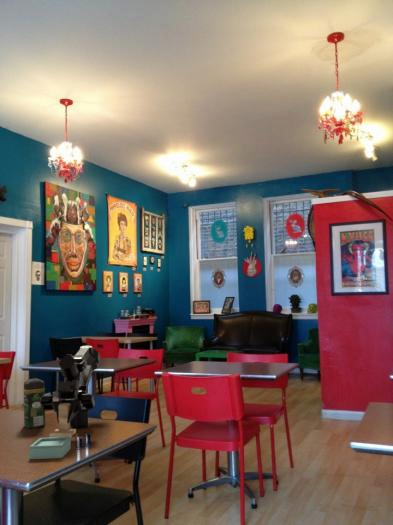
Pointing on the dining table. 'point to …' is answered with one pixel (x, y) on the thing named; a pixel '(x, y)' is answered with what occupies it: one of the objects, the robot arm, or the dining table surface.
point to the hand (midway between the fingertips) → (63, 422)
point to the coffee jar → (33, 403)
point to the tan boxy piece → (63, 423)
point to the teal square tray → (50, 447)
